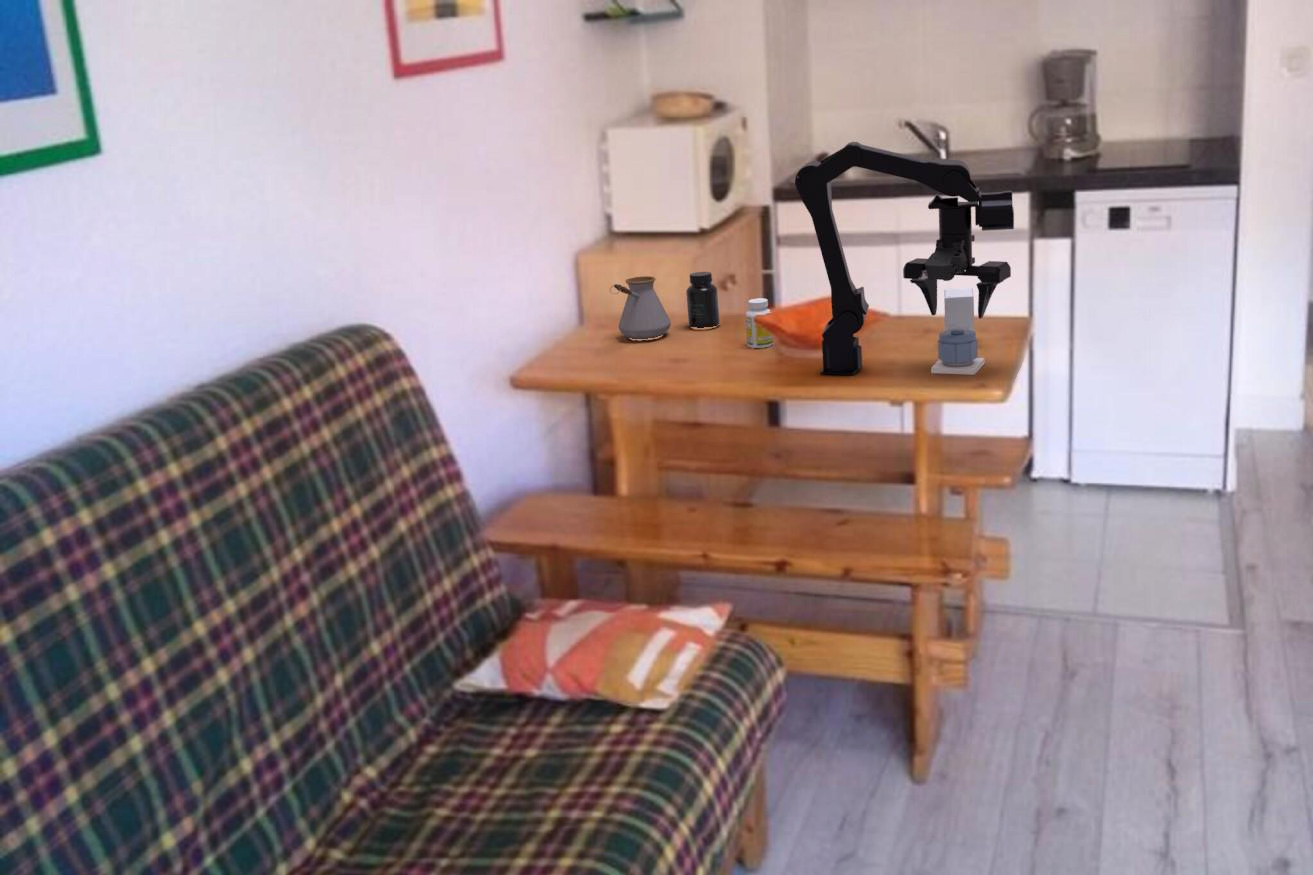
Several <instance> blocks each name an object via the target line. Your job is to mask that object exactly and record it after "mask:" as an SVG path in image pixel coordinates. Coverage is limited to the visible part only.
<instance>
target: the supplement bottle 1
mask: <svg viewBox="0 0 1313 875" xmlns="http://www.w3.org/2000/svg"><path fill="white" fill-rule="evenodd" d="M712 276H713V275H712V272H711V271H697V272H692V273H690V274H689V283H690V286H688V287H687V288H686V307H687V316H688V317H687V318H688V319H687V320H688V326H690V327H697V328H704V327H713V326H717V325H718V324H720V322H721V321H720V306H719V295H718V288H717V287H716V285H715V284H713V283H712V282H713V277H712ZM690 327H689V328H690Z"/></svg>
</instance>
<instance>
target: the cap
mask: <svg viewBox="0 0 1313 875" xmlns="http://www.w3.org/2000/svg"><path fill="white" fill-rule="evenodd" d="M976 335H977V334H976V331H975V330H974V331H972V330H965V329H953V330H947V331H945V330H943V331H941V332H940V333H938V340H937V352H938V353H937V354H938V355H937V357H938V360H941V361H943V362H952V363H960V362H969V361H972V360H974V359H976V358H978V339H977V336H976Z"/></svg>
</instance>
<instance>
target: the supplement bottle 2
mask: <svg viewBox="0 0 1313 875" xmlns="http://www.w3.org/2000/svg"><path fill="white" fill-rule="evenodd" d="M747 303H748V304H747V305H748V308H749V309H748V310H747V311H746V312H745V328H746V331H745V332H746V343H747V344H746V345H747V347H748V348H750V347H751V348H750V349H754V348H760V349H766V348H765V347H768V348H770V347H771V346H770V345H772V344H773V345H774V335H773V336H772V335H771V334H770V333H768V332H767V331H765V330H764V329H762V327H760V326H758V325H757V324H756V323H755V322H754V317H755V316H756V315H765V314H767V313H772V311H771V310H770V309H769V308H768V306H769V300H768V299H767V298H752V299H749V300H748V301H747ZM770 311H771V312H770ZM773 345H772V346H773ZM769 346H770V347H769Z"/></svg>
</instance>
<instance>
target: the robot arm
mask: <svg viewBox="0 0 1313 875" xmlns="http://www.w3.org/2000/svg"><path fill="white" fill-rule="evenodd" d="M853 167H855V168H856V167H857V168H861V169H866V170H868V171H874V172H878V173H881V174H885V175H890V176H895V177H899V178H903V179H908V180H912V181H916V182H918V183H921V184H922V185H924V186H926V187H927V188H930V189H931V190H934V191H937V192H938V193H936V194H935V196H934V198H933V199H932V200H930V201H929V203H928V205H927V209H928V210H938V234H939V235H938V237H939V238H938V239H936V243H935V249H934V252H932V253H931V254H930V256H929V257H928V258H919V257H918V258H914V259H913V260H912V259H911V260H910V261H908V262H906V263H905V264H904V267H903V268H902V275H903V276H902V277H903V279H908V280H909V282H910V283H911V284H915V285H916V286H917V287H918V288H920V291H921V292H922V295H923V296H924V298H925V301H926V305H927V306H928V309H929V312H930V314H931V316H936V315H937V309H938V281H940V280H941V281H943V282H950V281H951V280H953V279H954V278H955V276H961V277H962V276H963V277H964V276H965V277H977V278H978V280H979V281H980V282H977V283H976V288H977V289H978V301H977V304H978V305H977V316H978V319H980V320H981V319H982V318H984V315H985V313H986V310H987V307H988V305H989V302H990V301H991V298H992V295H993V293H994V291H995V290H996V288H997V287H998V285H999V284H1001V283H1003V282H1004V281H1005V280H1007V279H1009V278H1011V274H1012V273H1011V272H1012V270H1011V266H1010V264H1009V262H1008V261H999V260H998V261H993V260H989V261H986V262H984V263H982V264H981V265H973V264H975V263H976V257H975V256H974V257H973V242H974V241H975V239H976V238H975V234H973V232H972V231H973V230H972V224H973V223H972V208H974V210H975V211H974V214H975V215H974V219H975V220H974V223H975V226H978V227H979V228H981V231H983V232H985V231H1005V230H1014V229H1015V226H1014V225H1015V212H1014V211H1015V210H1014V206H1013V191H1012V190H1003V191H1000V192H982V191H981V190H980V187H979V186H977V185H976V184H975V182H974V181H973V180H972V179H971V178H972V177H971V176H972V175H971V170H970V168H969V166H968V165H967V164H966V163H965V162H964V161H962V160H960V159H948V158H947V159H946V158H920V157H915V156H911V155H907V154H902V153H899V152H894V151H890V150H885V149H882V148H878V147H873V146H869V145H864V144H862V143H859V142H858V141H851V142H849V143H847V144H845V146H844V147H843V148H841V149H839V150H837V151H836V152H834V153H832V154H830V155H828V156H827V157H826V158H824V159H821V160H820V161H815V160H812V161H808V162H807V163H805V164H804V165H802V167H801V168H800V169H799V170H798V171H797V174H796V175H795V178H794V186H795V188H796V190H797V193H798V195H799V197H800V200H801V201H802V203H803V205H804V207H805V208H806V210H807V211H808V213H809V215H810V217H811V219H812V224H813V226H814V227H813V228H814V231H815V235H816V238H817V242H818V245H819V246H818V247H819V248H820V253H821V256H822V260H823V264H824V268H825V270H826V271H825V272H826V274H827V280H828V282H829V286H830V294H831V297H830V298H831V316H832V318H830V320H829V321H828V322H827V323H826V324H825V326H824V330H823V331H822V334H821V337H822V340H821V348H822V349H821V350H822V367H823V368H822V369H821V370H820V371H819V373H820V374H822V375H837V376H838V375H839V376H853V375H855V374H856V373H857V372H858V371H860V370H861V369H862V368H863V366H864V365H863V353H862V352H863V351H862V348H863V347H862V345H859V344H860V342H859V339H860V338H859V336H854V334H857V333H858V332H860V331H861V329H862V328H863V327H864V323H865V320H866V317H867V313H868V310H869V308H870V304H868V302H867V300H866V298H865V297H866V296H865V288H864V286H860V287H858V288H857V287H856V285H855V284H854V282H853V280H852V278H851V274H850V271H849V267H848V262H847V259H846V255H845V252H844V248H843V244H842V240H841V237H840V234H839V231H838V226H837V223H836V219H835V215H834V211H833V201H832V200H833V198H832V181H834V180H835V179H836V178H839V176H841V175H842V174H844V173H845V172H847V171H848V170H850V169H852V168H853ZM939 193H941V194H943V195H945V196H949V197H942V196H941V195H940V194H939ZM959 197H960V198H962V199H963V200H965V201H959Z"/></svg>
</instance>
